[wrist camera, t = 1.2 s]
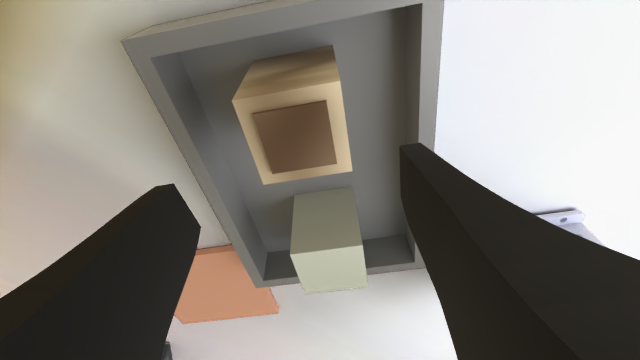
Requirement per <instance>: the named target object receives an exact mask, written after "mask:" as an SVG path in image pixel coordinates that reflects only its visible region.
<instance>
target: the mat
mask: <svg viewBox="0 0 640 360" xmlns="http://www.w3.org/2000/svg"><path fill="white" fill-rule="evenodd" d="M278 311H279V307H278V305H277V303H276V301H275V299H274V297H273V295H272V293H271V291H270V289H269V287H263V288H256V287H255V285H254V284H253V282H252V280H251V278H250V276H249V275H248V273H247V271H246V269H245V267H244V265H243V264H242V262H241V260H240V258H239V256H238V254H237V253H236V251H235V249H234V247H233V245H228V246H221V247H213V248H206V249H199V250H196V254H195V257H194V260H193V263H192V266H191V269H190V272H189V274H188V277H187V280H186V283H185V285H184V288H183V291H182V294H181V296H180V299H179V302H178V305H177V307H176V310H175V313H174V315H175V316H176V317H177V318H178V319H179V320H180V322H181V323H182V324H188V323H197V322H206V321H215V320H224V319H233V318H242V317H251V316H260V315H269V314H278Z"/></svg>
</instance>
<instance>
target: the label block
mask: <svg viewBox="0 0 640 360" xmlns="http://www.w3.org/2000/svg"><path fill="white" fill-rule="evenodd" d="M232 103H233V105H234V108H235V111H236V113H237V116H238V118H239V121H240V124H241V126H242V129H243V132H244V134H245V137H246V140H247V142H248V145H249V148H250V150H251V153H252V156H253V158H254V161H255V163H256V166H257V169H258V171H259V174H260V177H261V179H262V182H263V185H265V184H272V183H278V182H285V181H291V180H298V179H304V178H311V177H317V176H324V175H330V174H337V173H343V172H350V171H352V163H351V156H350V149H349V141H348V134H347V127H346V119H345V112H344V105H343V97H342V90H341V83H340V77H339V72H338V68H337V63H336V58H335V54H334V49H333V45H331V46H326V47H321V48H316V49H311V50H306V51H300V52H295V53H290V54H285V55H280V56H275V57H269V58H264V59H259V60H254V61H253V62H252V64H251V66H250V68H249V70H248V72H247V73H246V75H245V77H244V79H243V81H242V83H241V85H240V86H239V88H238V90H237V92H236V94H235V96H234V97H233V99H232Z"/></svg>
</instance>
